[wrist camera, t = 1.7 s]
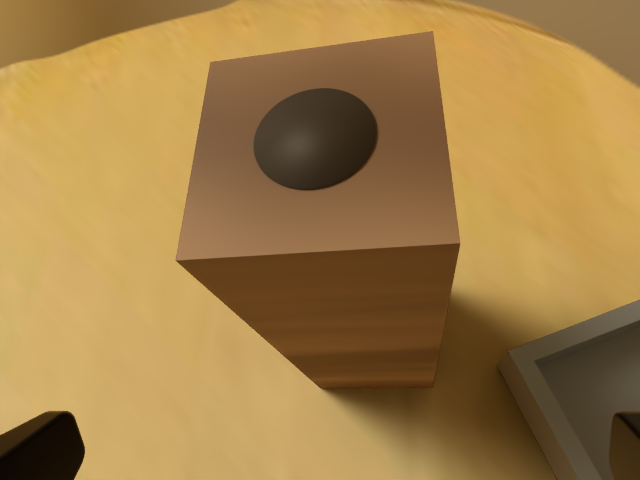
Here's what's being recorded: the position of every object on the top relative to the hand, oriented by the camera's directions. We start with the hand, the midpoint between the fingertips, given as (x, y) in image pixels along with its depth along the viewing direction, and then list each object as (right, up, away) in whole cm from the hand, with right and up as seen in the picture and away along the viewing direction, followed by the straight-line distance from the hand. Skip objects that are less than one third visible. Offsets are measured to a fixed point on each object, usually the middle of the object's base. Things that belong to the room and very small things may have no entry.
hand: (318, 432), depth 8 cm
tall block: (+2, -1, +12) cm, 12 cm away
